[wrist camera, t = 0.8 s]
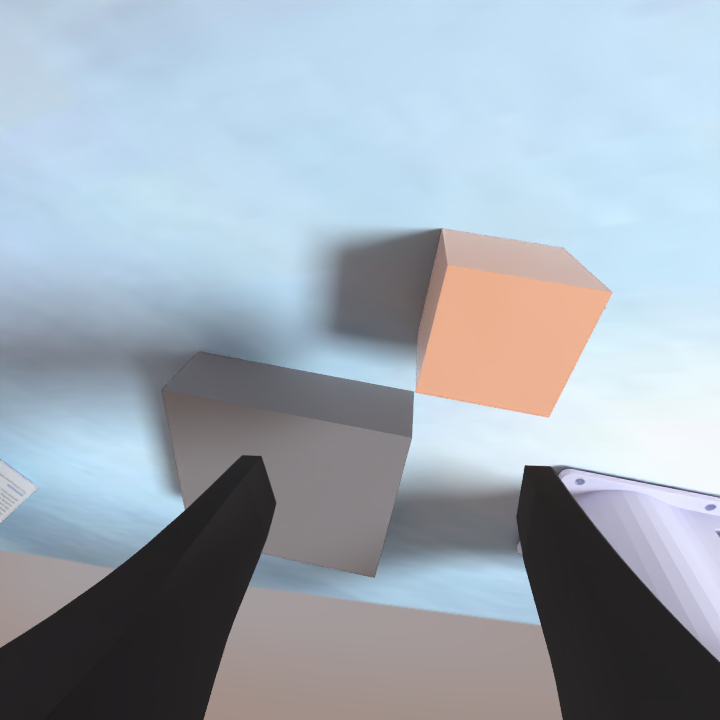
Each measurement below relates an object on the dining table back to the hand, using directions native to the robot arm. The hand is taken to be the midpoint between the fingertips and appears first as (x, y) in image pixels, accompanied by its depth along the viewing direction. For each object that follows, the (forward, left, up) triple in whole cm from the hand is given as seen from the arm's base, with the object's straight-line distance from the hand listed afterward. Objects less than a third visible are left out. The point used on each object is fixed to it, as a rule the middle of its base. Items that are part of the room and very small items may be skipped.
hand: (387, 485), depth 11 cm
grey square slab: (+5, +9, -10) cm, 15 cm away
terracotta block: (-3, -3, -10) cm, 10 cm away
